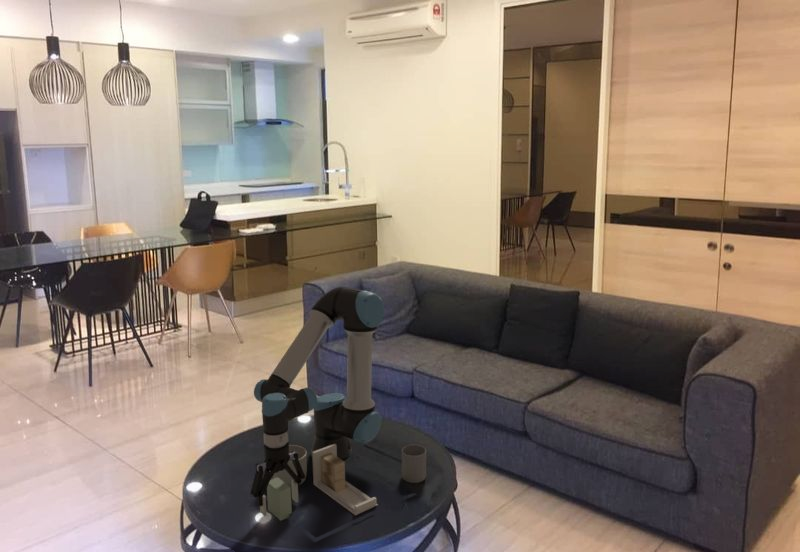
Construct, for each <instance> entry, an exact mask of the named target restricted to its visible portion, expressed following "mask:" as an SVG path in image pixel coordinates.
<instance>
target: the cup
mask: <svg viewBox="0 0 800 552" xmlns="http://www.w3.org/2000/svg"><path fill="white" fill-rule="evenodd" d="M426 477H427V449H426V447H424V446H422V445H419V444H408V445H406V446H403V447H402V449H401V478H402V480H403V481H405V482H407V483H411V484H415V483H416V484H417V483H421V482H424V480H426Z"/></svg>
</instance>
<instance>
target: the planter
mask: <svg viewBox="0 0 800 552" xmlns="http://www.w3.org/2000/svg"><path fill="white" fill-rule="evenodd" d="M292 451H294V452H296V453H297V454H298V460H299V463H300V465H301V467H302V470H303V472H304V475H305V478H304V479H301V481H302V482H301V483H300V485H302V484H303V483H304V482H305V480H306V479H307V473H308V451H307V449H306V448H305V447H304V446H301V445H297V444H289V454H290V453H291V452H292ZM287 464H288V465H289V467H290V468H291V469H292V470H293V472H294V473H295V474H296V475H298V474H297V472H296V469H295V467H294V464H293V462H292V459H289V461H288V463H287ZM277 477H278V478H279V479H281V480H282V481H283V482H285V483H286V484H287V485H288V486H290V487H291V481H292V480H294V479H293V478H292V477H291V476H290V475H289V473H288V472H287V471H286V470H285V469H284V470H282V471H279V472H277V473H274V475H273V477H272V479H274V478H277Z"/></svg>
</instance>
